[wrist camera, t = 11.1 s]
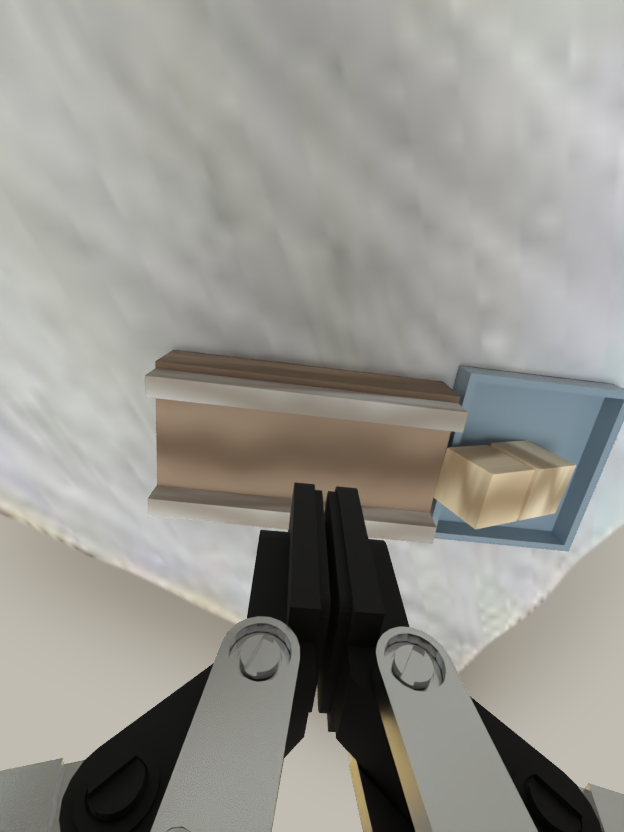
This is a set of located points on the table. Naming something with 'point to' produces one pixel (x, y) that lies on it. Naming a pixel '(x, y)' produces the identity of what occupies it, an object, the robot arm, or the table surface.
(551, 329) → the table surface
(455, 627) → the table surface
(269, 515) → the brown wooden channel
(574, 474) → the slate tray
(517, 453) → the pale yellow cube
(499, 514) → the tan wooden cube
